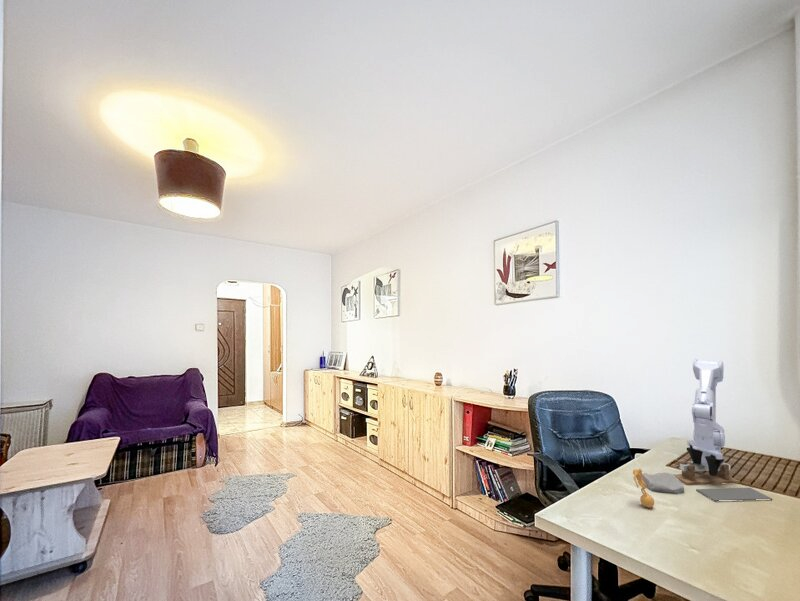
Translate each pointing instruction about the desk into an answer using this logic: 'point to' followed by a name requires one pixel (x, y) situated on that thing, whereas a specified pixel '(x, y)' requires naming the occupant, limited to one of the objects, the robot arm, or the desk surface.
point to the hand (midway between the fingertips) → (705, 471)
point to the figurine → (645, 498)
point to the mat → (732, 494)
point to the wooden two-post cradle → (705, 476)
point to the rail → (699, 467)
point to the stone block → (663, 483)
